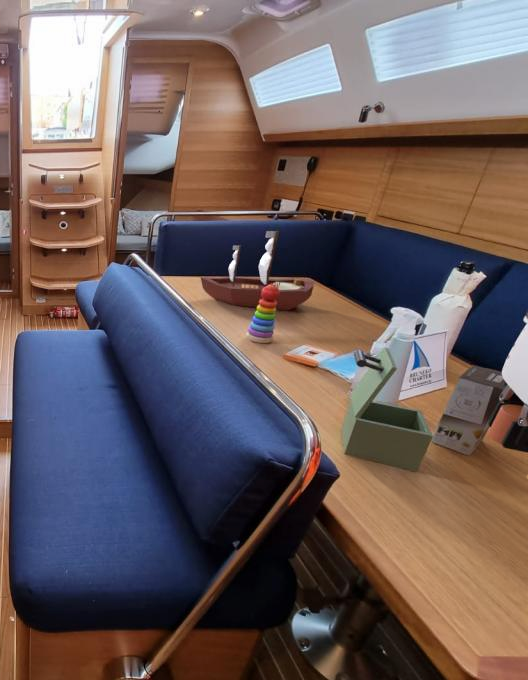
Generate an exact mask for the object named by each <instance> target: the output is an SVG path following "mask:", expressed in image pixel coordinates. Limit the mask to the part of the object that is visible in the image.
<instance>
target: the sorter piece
mask: <svg viewBox="0 0 528 680" xmlns="http://www.w3.org/2000/svg"><path fill="white" fill-rule="evenodd" d="M522 409H523V406H519V405H511V404H507V405H503V406H501V408H500V410H499V412H498V414H497V416H496V418H495V420H494V422H493V424H492V426H491V427H489V429H488V431H487V435H488V437H489V438H490V439H491V440H493V441H494V442H496V443H498V444H500V445H502V444H501V443H502V441H503V439H504V437H505V436H506V434H507V432H508V430H509V428H510V426H511V424H512V422H513V421H515V422H518V419H519V417H520V414H521V411H522Z"/></svg>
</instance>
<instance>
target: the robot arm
mask: <svg viewBox="0 0 528 680" xmlns="http://www.w3.org/2000/svg"><path fill="white" fill-rule="evenodd" d="M523 322H524V323H525V326H524V327H523V329H522V330H521V331H520V334H519V335H518V337H517V339H516V341H515V342H514V343H513V346H512V348H511V349H510V351H509V353H508V355H507V357H506V359H505V362H504V365H503V367H502V370H501V372H502V377H503V379H504V380H505V381H506V382H505V383H504V386H505V389H504V390H503V392H502V393H501V395H500V397H499V400H500V401H501V402H502V403H501V402H498V404H497V406H496V408H495V410H494V412H493V414H492V416H491V418H490V420H489V422H488V425H489V426H490V427H489V428H491V426H492V424H493V422H494V420H495V418H496V416H497V414H498V412H499V410H500V408H501V406H503V405H507V404H511V405H519V406H523V409H522V411H521V414H520V417H519V419H518V422H515V421H513V422H512V424H511V426H510V428H509V430H508V432H507V434H506V436H505V437H504V439H503V441H502V443H501V444H500V445H501V446H502V447H503V448H504V449H507V450H513V451H518V452H522V453H527V454H528V311H527V312H526V314H525V315H524V317H523Z"/></svg>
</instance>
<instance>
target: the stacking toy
mask: <svg viewBox="0 0 528 680" xmlns="http://www.w3.org/2000/svg"><path fill="white" fill-rule="evenodd" d="M279 294H280V291H279V289H278V288H277V287H276V286H273V285H269V286H266V287H264V288H263V290H262V292H261V296H262V298H263V299H261V300H260V301H259V304H260V305H258V306H257V308H256V310H255V312H254V315H253V316H252V319H251V322H250V323H249V324H250V325H249V326H248V328H247V332H246V334H245V336H246V338H247V339H248V340H249V341H251V342H255V343H259V344H268V343H271V342H273V340H274V333H275V332H274V330H275V327H276V326H275V322H276V320H275V318H276V311H277V310H276V308H275V306H276V305H277V302H276V301H275V300H276V299H277V298H278V297H279Z"/></svg>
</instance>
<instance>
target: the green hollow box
mask: <svg viewBox="0 0 528 680" xmlns="http://www.w3.org/2000/svg"><path fill="white" fill-rule="evenodd" d="M340 435H341V442H342V448H343V454H344V455H346V456H351V457H355V458H358V459H363V460H367V461H371V462H375V463H379V464H383V465H386V466H387V465H388V466H391V467H395V468H398V469H403V470H407V471H411V472H415V473H418V470H419V468H420V466H421V464H422V462H423V460H424V457H425V455H426V453H427V452H428V451H427V450H428V449H429V446H430V444H431V440H432V437H433V433H432V430H431V429H430V426H429V423H428V421H427V419H426V417H425V415H424V413H423V411H422V410H421V409H417V408H416V409H415V408H411V407H405V406H400V405H395V404H390V403H386V402H380V401H374V400H373V401H372V402H371V404H370V405H369V406H368V407H367V409H366V410H365V411H364V413H363V414H362V415H361V417H360V418H357V417H355V416H354V411H353V406H352V401H351V399H350V401H349V403H348V406H347V409H346V412H345V415H344V417H343V421H342V424H341V427H340Z"/></svg>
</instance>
